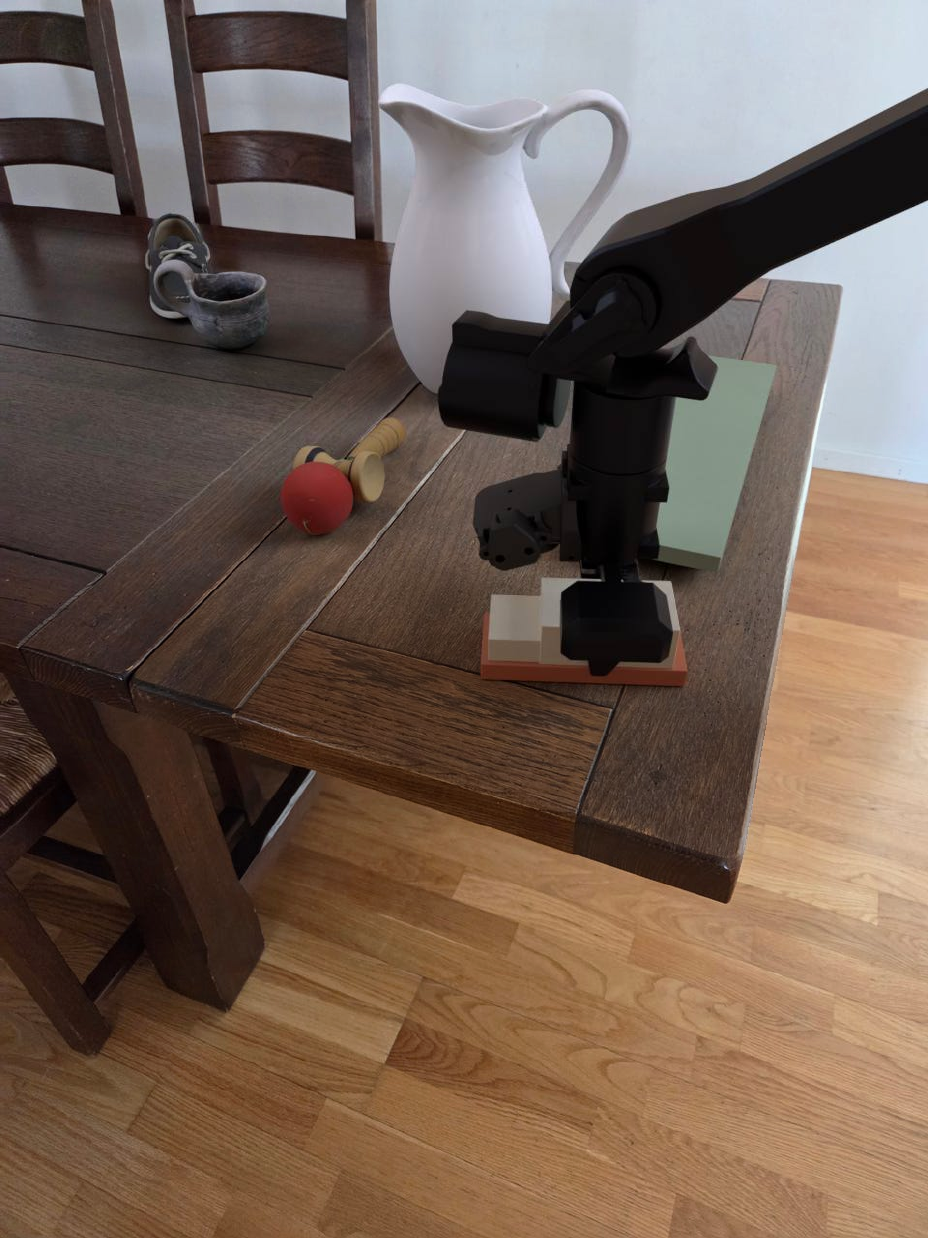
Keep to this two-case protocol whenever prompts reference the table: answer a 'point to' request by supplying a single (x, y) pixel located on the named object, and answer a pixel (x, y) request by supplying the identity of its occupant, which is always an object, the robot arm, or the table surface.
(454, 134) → the pitcher
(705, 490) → the flat pale green board
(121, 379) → the table surface
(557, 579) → the stepped block on base
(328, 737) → the table surface
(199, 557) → the table surface
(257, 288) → the mug
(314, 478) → the kendama
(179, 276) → the boat shoe
